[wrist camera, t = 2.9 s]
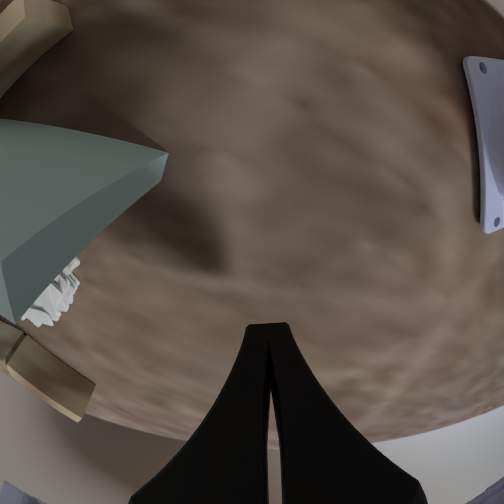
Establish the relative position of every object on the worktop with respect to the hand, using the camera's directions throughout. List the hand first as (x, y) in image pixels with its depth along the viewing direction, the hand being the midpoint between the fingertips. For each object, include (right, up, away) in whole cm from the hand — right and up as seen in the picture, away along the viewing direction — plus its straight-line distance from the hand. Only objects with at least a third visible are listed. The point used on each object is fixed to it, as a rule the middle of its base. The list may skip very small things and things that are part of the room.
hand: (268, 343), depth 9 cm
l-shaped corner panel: (-11, +3, +1) cm, 12 cm away
